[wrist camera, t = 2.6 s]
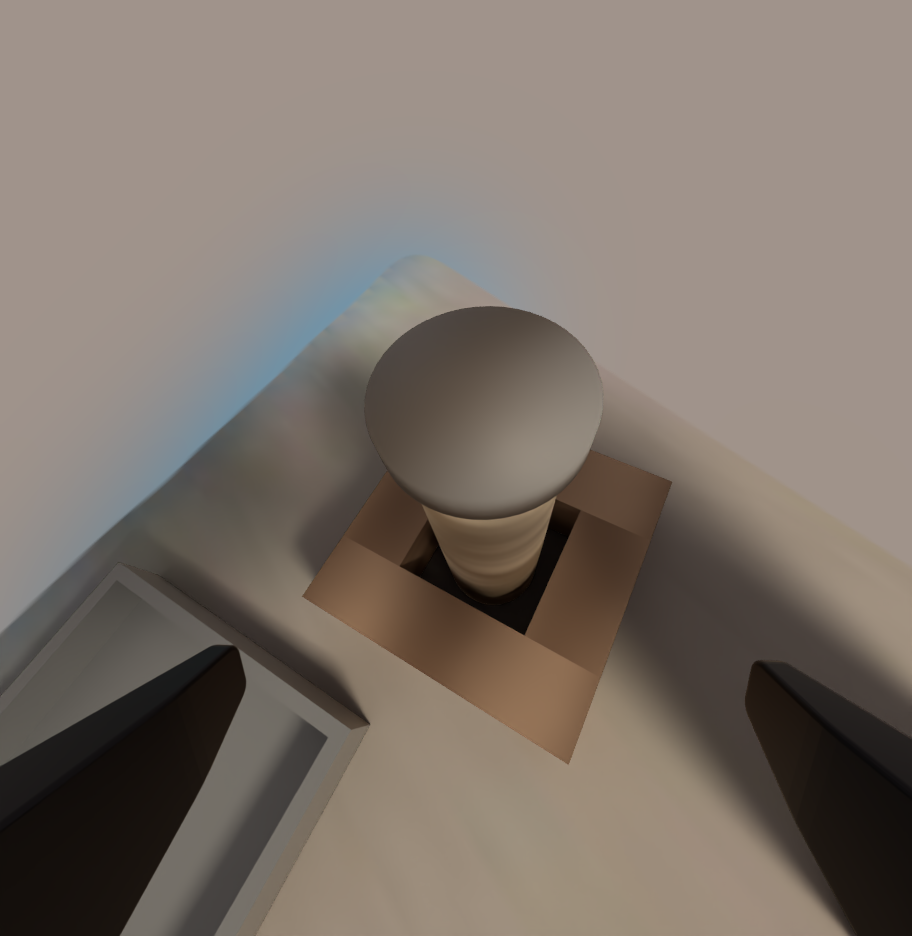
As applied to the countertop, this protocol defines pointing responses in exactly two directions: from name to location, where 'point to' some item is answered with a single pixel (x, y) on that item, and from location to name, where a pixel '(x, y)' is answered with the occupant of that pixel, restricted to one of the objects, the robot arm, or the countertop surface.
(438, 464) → the pin
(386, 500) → the socket block
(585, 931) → the countertop surface
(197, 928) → the tray
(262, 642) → the countertop surface
